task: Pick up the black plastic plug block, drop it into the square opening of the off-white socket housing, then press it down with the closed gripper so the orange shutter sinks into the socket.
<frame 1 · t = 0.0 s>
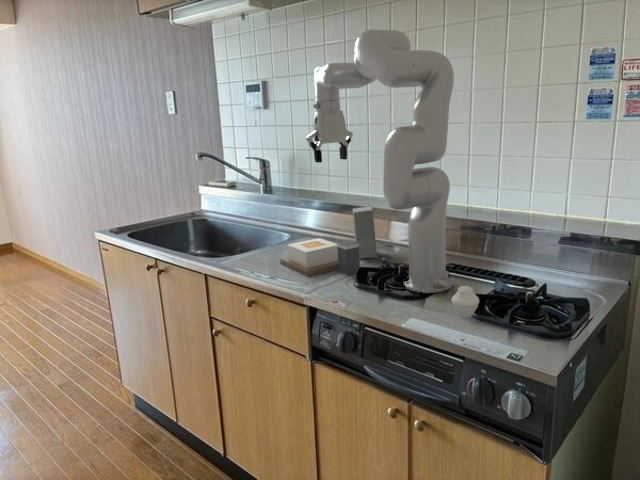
hand: (331, 160, 167), 31 cm above the worktop, tool pointing down, fingers open, 9 cm apart
shutter: (313, 246, 161), point 6 cm above the worktop, slide at 0.0 cm
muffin: (465, 315, 117), on the worktop
skincare box: (365, 256, 168), on the worktop
plug: (349, 272, 152), on the worktop
socket: (314, 264, 162), on the worktop
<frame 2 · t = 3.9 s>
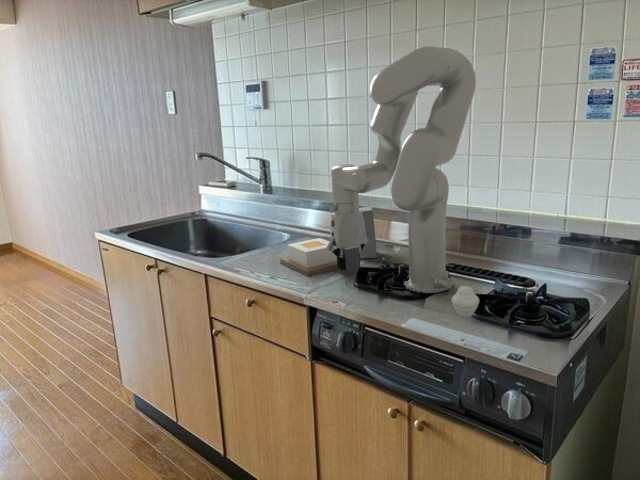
hand: (349, 266, 152), 2 cm above the worktop, tool pointing down, fingers closed on plug, 4 cm apart
plug: (349, 272, 152), on the worktop, touching gripper
everything else where it was.
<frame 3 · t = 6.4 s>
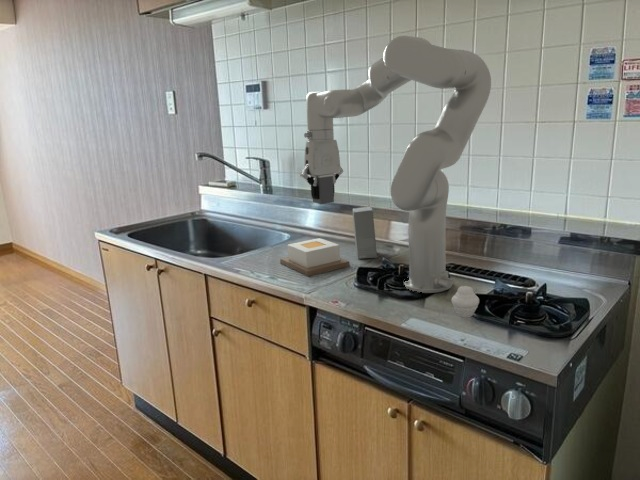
hand: (323, 196, 153), 22 cm above the worktop, tool pointing down, fingers closed on plug, 4 cm apart
plug: (323, 202, 153), point 21 cm above the worktop, touching gripper
everything else where it was.
when the fingers open (9 cm above the worktop, at t = 9.5 s): plug drops 2 cm, resting on shutter.
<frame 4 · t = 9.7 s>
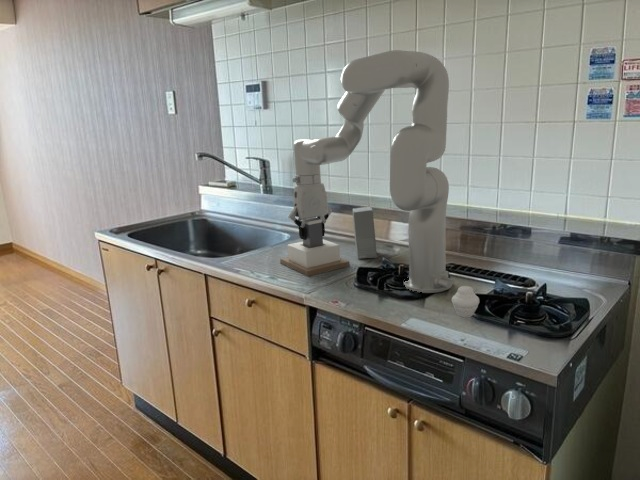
hand: (312, 236, 160), 9 cm above the worktop, tool pointing down, fingers open, 5 cm apart
shutter: (313, 248, 161), point 5 cm above the worktop, slide at 0.6 cm, touching plug
plug: (313, 246, 161), point 6 cm above the worktop, touching shutter
everything else where it was.
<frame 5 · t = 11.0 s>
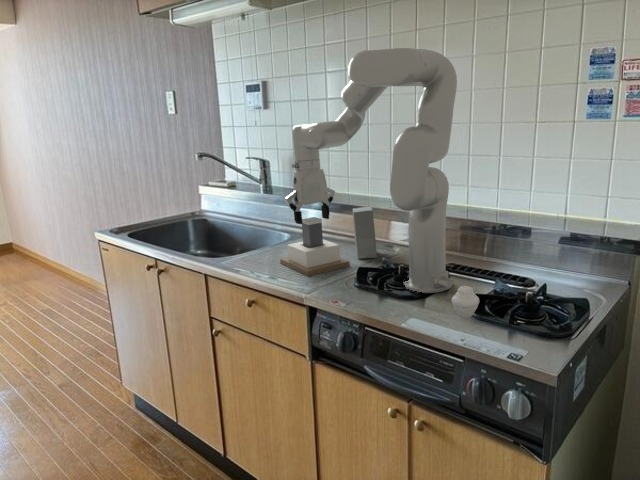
hand: (312, 220, 158), 14 cm above the worktop, tool pointing down, fingers open, 9 cm apart
nothing on the worktop moved.
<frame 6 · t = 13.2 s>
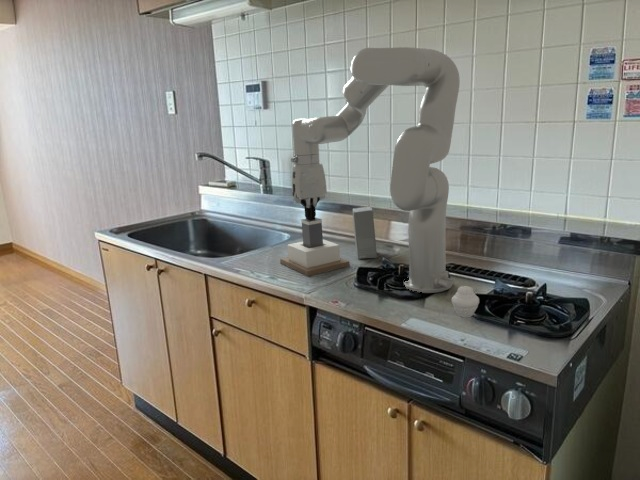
hand: (310, 219, 159), 15 cm above the worktop, tool pointing down, fingers closed
plug: (313, 247, 161), point 6 cm above the worktop, touching gripper, shutter
everything else where it was.
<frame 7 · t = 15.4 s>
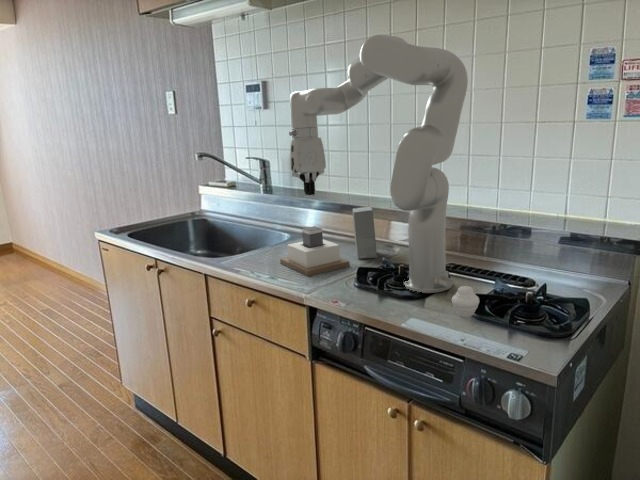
hand: (309, 194, 156), 23 cm above the worktop, tool pointing down, fingers closed
shutter: (313, 257, 162), point 2 cm above the worktop, slide at 3.6 cm, touching plug
plug: (313, 256, 161), point 3 cm above the worktop, touching shutter
everything else where it was.
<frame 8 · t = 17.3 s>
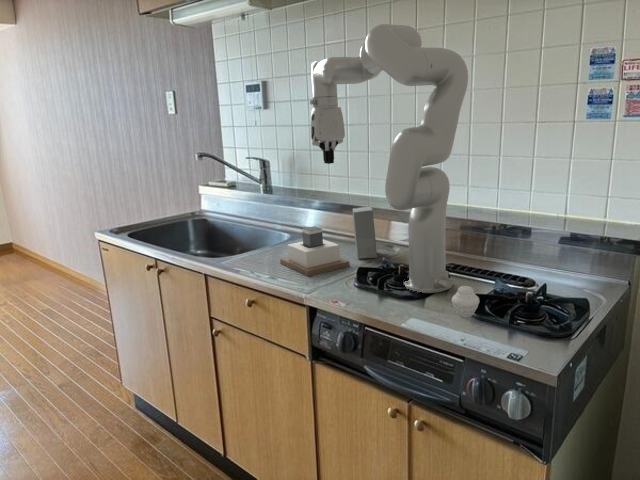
hand: (329, 163, 161), 31 cm above the worktop, tool pointing down, fingers closed
nothing on the worktop moved.
at the end: plug 0.1 cm off-centre on the socket, point 2.8 cm above the socket's base; shutter slide at 3.6 cm; plug tilted 0° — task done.
